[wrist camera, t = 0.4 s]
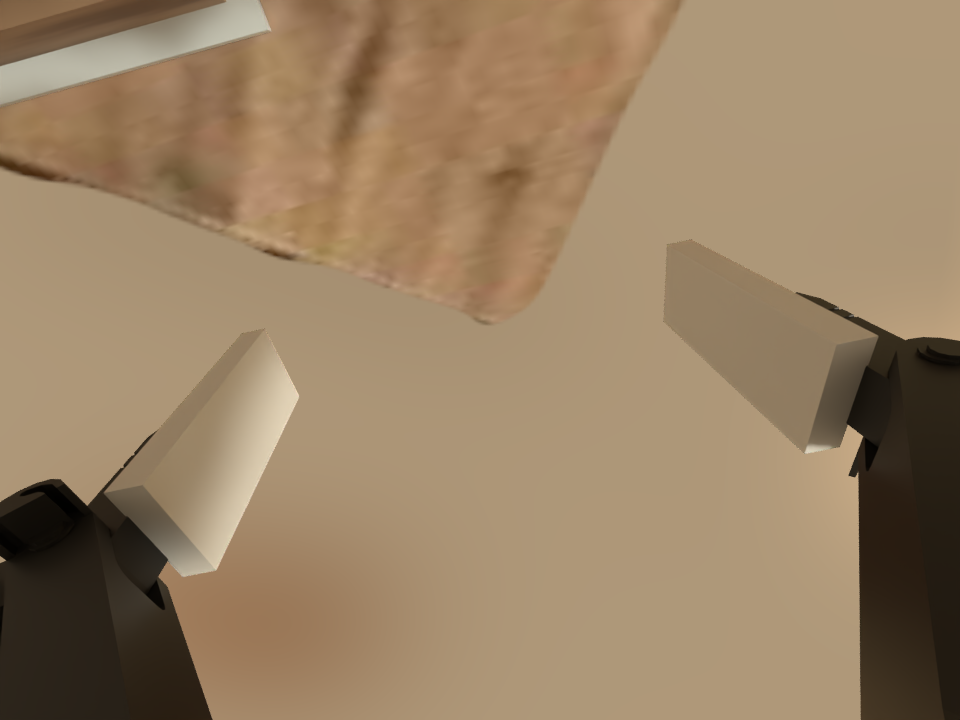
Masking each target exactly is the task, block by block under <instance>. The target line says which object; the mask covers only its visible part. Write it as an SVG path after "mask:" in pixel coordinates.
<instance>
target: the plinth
mask: <svg viewBox="0 0 960 720" xmlns="http://www.w3.org/2000/svg"><path fill="white" fill-rule="evenodd" d="M268 32H272V31H271V29H270V26H269V23H268V21H267V18H266V16H265V13H264V10H263V8H262V5H261V3H260V0H0V108H1V107H4V106H8V105H12V104H15V103H19V102H22V101H26V100H29V99H33V98H37V97H40V96H44V95H47V94H51V93H54V92H58V91H62V90H65V89H69V88H72V87H76V86H79V85H83V84H86V83H90V82H94V81H97V80H101V79H104V78H108V77H111V76H115V75H119V74H122V73H126V72H129V71H133V70H136V69H140V68H144V67H147V66H151V65H154V64H158V63H161V62H165V61H169V60H172V59H176V58H179V57H183V56H186V55H190V54H194V53H197V52H201V51H204V50H208V49H211V48H215V47H218V46H222V45H226V44H229V43H233V42H236V41H240V40H243V39H247V38H251V37H254V36H258V35H261V34H265V33H268Z"/></svg>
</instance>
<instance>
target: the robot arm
mask: <svg viewBox="0 0 960 720" xmlns="http://www.w3.org/2000/svg"><path fill="white" fill-rule="evenodd" d="M665 280H666V281H665V300H664V301H665V302H664V322H665V323H666V324H667V325H668V326H669V327H670V328H671V329H672V330H673V331H674V332H675V333H676V334H677V335H678V336H680V338H682V339H683V340H684V341H685V342H686V343H687V344H688V345H689V346H690V347H691V348H692V349H693V350H695V352H697V353H698V354H699V355H700V356H701V357H702V358H703V359H704V360H705V361H706V362H707V363H708V364H709V365H710V366H712V368H714V369H715V370H716V371H717V372H718V373H719V374H720V375H721V376H722V377H723V378H724V379H725V380H726V381H727V382H728V383H730V384H731V385H732V386H733V387H734V388H735V389H736V390H737V391H738V392H739V393H741V395H742V396H743V397H744V398H746V399H747V400H748V401H749V402H750V403H751V404H752V405H753V406H754V407H755V408H756V409H757V410H758V411H759V412H760V413H762V414H763V415H764V416H765V417H766V418H767V419H768V420H769V421H770V422H771V423H772V424H773V425H774V426H775V427H777V428H778V429H779V430H780V431H781V432H782V433H783V434H784V435H785V436H786V437H787V438H788V439H789V440H790V441H791V442H792V443H794V444H795V445H796V446H797V447H798V448H799V449H800V450H801V451H802V452H803V453H804V454H806V453H811V452H817V451H822V450H826V449H832V448H836V447H840V445H841V442H842V439H843V437H844V434H845V431H846V428H847V425H850V426H851V427H852V428H854V429H855V430H856V431H857V432H859V433H860V434H861V435H862V436H863V439H862V442H861V444H860V447H859V449H858V452H857V455H856V457H855V460H854V462H853V465H852V468H851V470H850V473H849V476H852V477H856V475H857V473H859V474H858V475H859V476H858V478H859V574H860V575H859V584H860V683H861V684H860V686H861V720H960V341H957V340H950V339H944V338H929V337H928V338H927V337H921V338H913V339H908V340H904V339H902V338H900V337H898V336H896V335H894V334H892V333H889V332H888V331H885V330H883V329H881V328H879V327H877V326H875V325H873V324H871V323H869V322H867V321H865V320H863V319H861V318H859V317H854V315H853V314H851V313H849V312H847V311H845V310H843V309H841V310H839V307H837V306H835V305H833V304H831V303H828V302H827V301H824V300H823V299H821V298H817V297H813V296H809V295H805V294H801V293H797V292H796V293H794V292H792V291H790V290H788V289H786V288H784V287H782V286H780V285H778V284H777V283H775V282H773V281H771V280H769V279H767V278H765V277H763V276H761V275H759V274H757V273H755V272H753V271H751V270H749V269H747V268H745V267H743V266H741V265H740V264H738V263H736V262H733V261H732V260H730V259H728V258H726V257H724V256H722V255H720V254H718V253H716V252H714V251H712V250H710V249H708V248H706V247H704V246H702V245H701V244H699V243H697V242H695V241H693V240H686V241H682V242H677V243H672V244H667V257H666V279H665ZM298 398H299V395H298V393H297V391H296V389H295V387H294V385H293V383H292V381H291V379H290V377H289V375H288V373H287V371H286V369H285V367H284V365H283V363H282V361H281V359H280V357H279V355H278V353H277V351H276V349H275V347H274V346H273V344H272V341H271V340H270V338H269V335H268V333H267V331H266V330H265V329H260V330H256V331H251V332H246V333H242V334H241V335H240V336H239V337H238V338H237V340H236V341H235V342H234V343H233V344H232V345H231V347H230V348H229V349H228V350H227V351H226V352H225V353H224V355H223V356H222V357H221V358H220V359H219V361H218V362H217V363H216V364H215V365H214V366H213V367H212V368H211V370H210V371H209V372H208V373H207V374H206V375H205V376H204V378H203V379H202V380H201V381H200V382H199V384H198V385H197V386H196V387H195V388H194V389H193V390H192V392H191V393H190V394H189V395H188V396H187V397H186V398H185V400H184V401H183V402H182V403H181V404H180V405H179V406H178V408H177V409H176V410H175V411H174V412H173V413H172V415H171V416H170V417H169V418H168V419H167V420H166V422H165V423H164V424H163V425H162V426H161V427H160V428H159V429H158V430H157V431H156V432H154V433H153V434H152V435H150V436H149V437H148V438H147V439H146V440H145V441H144V442H143V443H142V445H141V446H140V447H139V448H138V449H137V450H136V451H135V452H134V453H135V455H133V456H131V457H130V458H129V459H128V461H127V462H126V463H125V464H124V468H120V470H119V471H118V472H117V473H116V474H115V475H114V476H113V478H112V479H111V480H110V481H109V482H108V483H107V484H106V485H105V487H104V488H103V489H102V490H101V491H100V492H99V493H98V494H97V496H96V497H95V498H94V499H93V500H92V501H91V502H90V504H89V505H88V506H87V505H86V504H85V503H83V501H82V500H80V499H79V497H78V496H77V495H75V493H73V492H72V490H71V489H70V488H69V487H68V486H67V485H66V484H65V483H64V482H62V481H61V479H50V480H46V481H43V482H39V483H36V484H33V485H31V486H29V487H27V488H24V489H22V490H20V491H18V492H16V493H15V494H13V495H11V496H10V497H8V498H6V499H4V500H3V501H1V502H0V556H1V557H2V558H4V559H5V560H6V561H5V562H2V563H0V720H212V717H211V714H210V711H209V708H208V705H207V702H206V699H205V697H204V693H203V690H202V688H201V684H200V682H199V679H198V676H197V673H196V670H195V667H194V664H193V661H192V658H191V655H190V652H189V649H188V646H187V643H186V640H185V637H184V634H183V631H182V628H181V626H180V622H179V620H178V617H177V614H176V611H175V608H174V605H173V602H172V599H171V596H170V593H169V590H168V587H167V586H166V585H165V584H164V583H163V581H161V579H159V577H158V576H159V574H160V572H161V571H162V569H163V568H164V566H165V564H166V563H167V561H168V562H169V563H170V564H171V565H172V566H173V567H174V568H175V569H176V570H177V571H178V572H179V573H180V574H181V576H182V577H185V576H190V575H195V574H200V573H205V572H210V571H215V570H216V569H217V567H218V565H219V563H220V561H221V559H222V557H223V555H224V553H225V551H226V549H227V546H228V544H229V542H230V540H231V538H232V536H233V534H234V532H235V530H236V528H237V526H238V523H239V521H240V519H241V517H242V515H243V513H244V511H245V509H246V507H247V505H248V503H249V500H250V498H251V496H252V494H253V492H254V490H255V488H256V486H257V484H258V482H259V480H260V477H261V475H262V473H263V471H264V469H265V467H266V465H267V463H268V461H269V459H270V457H271V455H272V452H273V450H274V448H275V446H276V444H277V442H278V440H279V438H280V436H281V434H282V432H283V429H284V427H285V425H286V423H287V421H288V419H289V417H290V414H291V413H292V411H293V409H294V406H295V404H296V402H297V400H298Z"/></svg>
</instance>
